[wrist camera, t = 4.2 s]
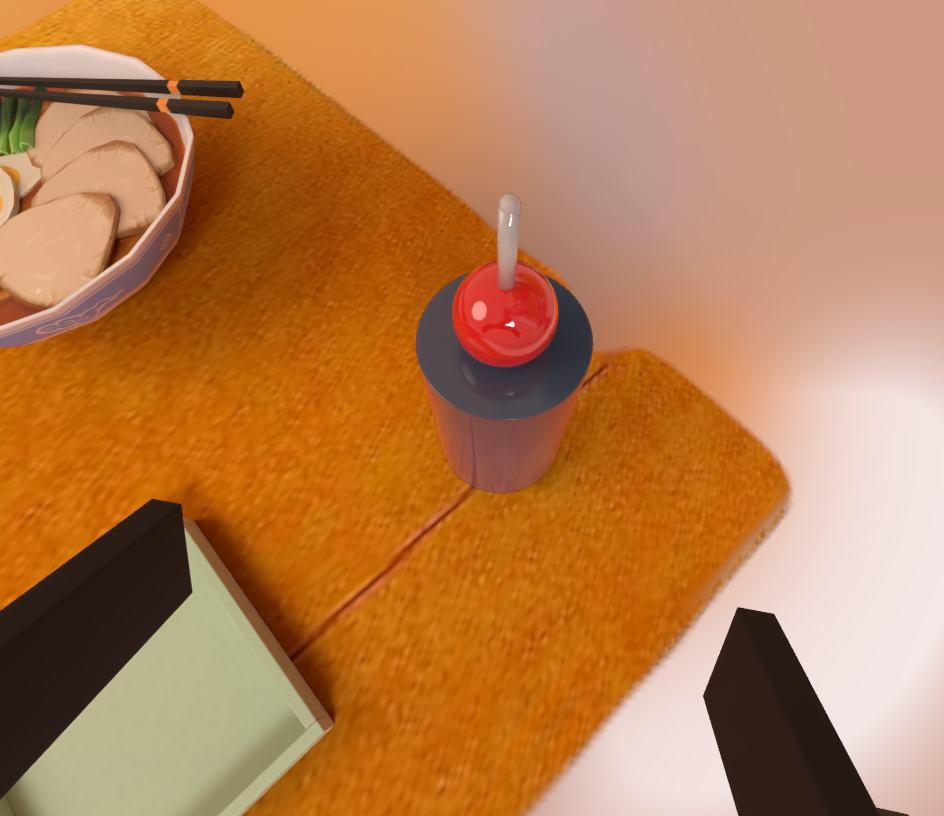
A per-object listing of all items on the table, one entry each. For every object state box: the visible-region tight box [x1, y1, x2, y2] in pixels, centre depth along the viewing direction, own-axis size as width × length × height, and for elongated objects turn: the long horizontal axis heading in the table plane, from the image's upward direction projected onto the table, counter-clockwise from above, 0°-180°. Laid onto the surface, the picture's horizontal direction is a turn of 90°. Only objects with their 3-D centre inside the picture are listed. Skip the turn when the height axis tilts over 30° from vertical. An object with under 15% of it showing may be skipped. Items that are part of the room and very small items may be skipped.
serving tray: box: [0, 517, 335, 816], centre depth 24 cm, size 13×13×2 cm
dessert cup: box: [416, 193, 593, 493], centre depth 22 cm, size 7×7×18 cm
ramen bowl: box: [0, 44, 244, 347], centre depth 32 cm, size 25×23×8 cm
